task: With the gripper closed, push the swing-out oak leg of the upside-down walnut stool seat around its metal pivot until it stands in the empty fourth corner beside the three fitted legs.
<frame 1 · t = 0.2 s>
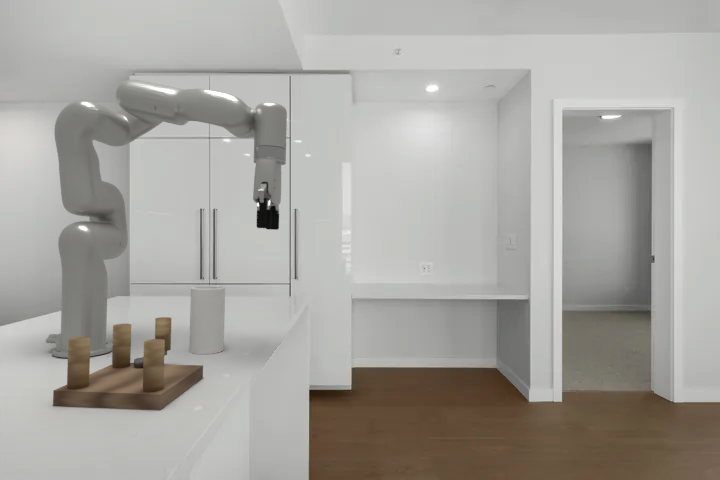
hand: (268, 228, 110), 31 cm above the counter, fingers open, 9 cm apart
stool seat: (135, 390, 84), on the counter
hinged leg: (153, 340, 96), point 7 cm above the counter, hinge at 0.0°
cup: (206, 351, 116), on the counter
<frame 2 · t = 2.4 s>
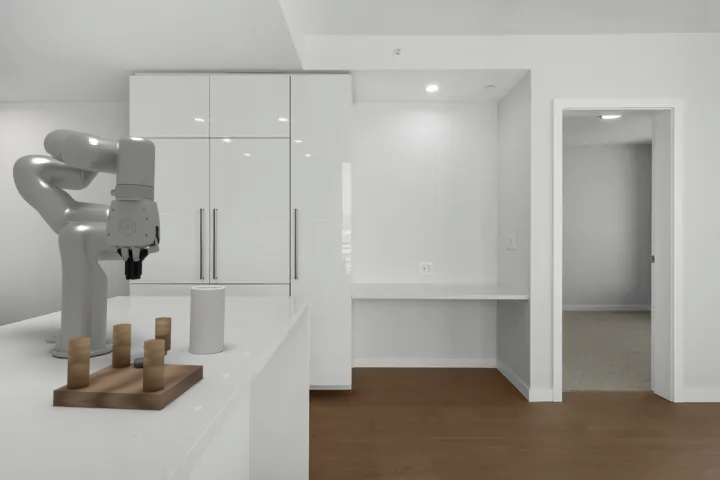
hand: (133, 279, 100), 19 cm above the counter, fingers closed
nothing on the counter moved.
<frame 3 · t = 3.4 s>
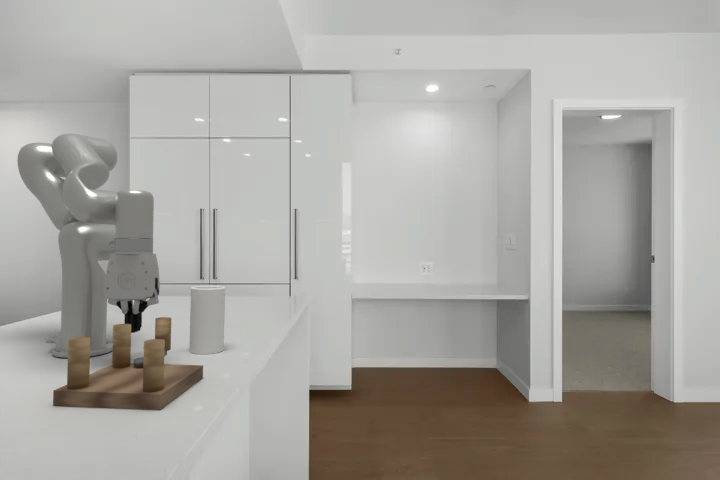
hand: (133, 331, 100), 8 cm above the counter, fingers closed
nothing on the counter moved.
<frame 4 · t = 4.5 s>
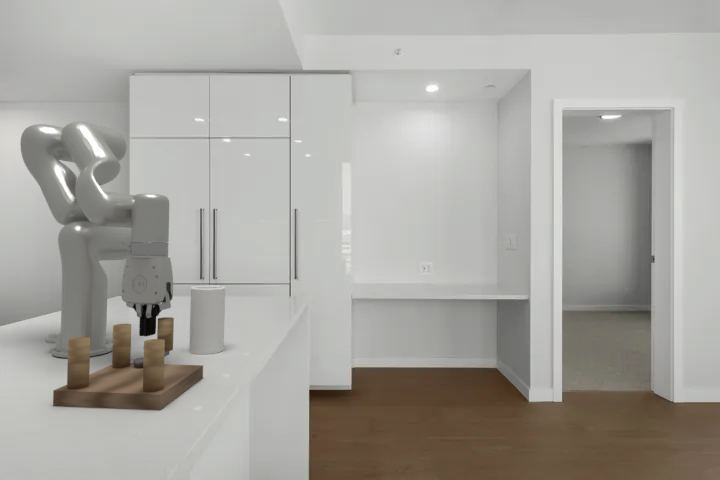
hand: (147, 334, 100), 7 cm above the counter, fingers closed
hinged leg: (154, 340, 96), point 7 cm above the counter, hinge at 3.4°, touching gripper
everything else where it was.
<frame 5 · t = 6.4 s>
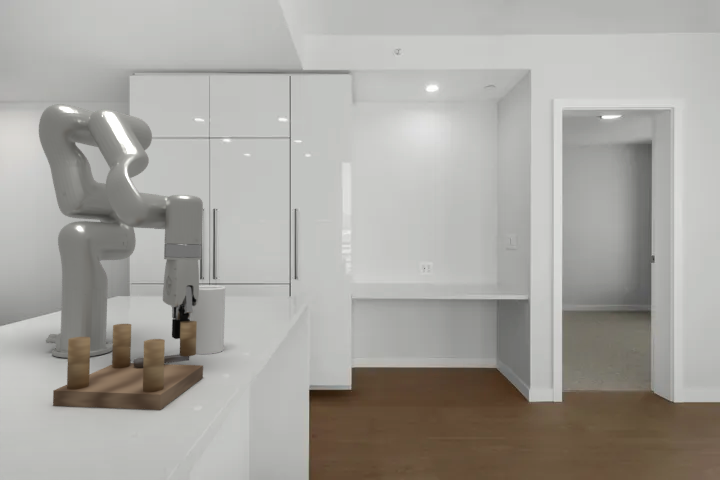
hand: (180, 337, 99), 7 cm above the counter, fingers closed
hinged leg: (166, 342, 94), point 7 cm above the counter, hinge at 50.4°, touching gripper
everything else where it was.
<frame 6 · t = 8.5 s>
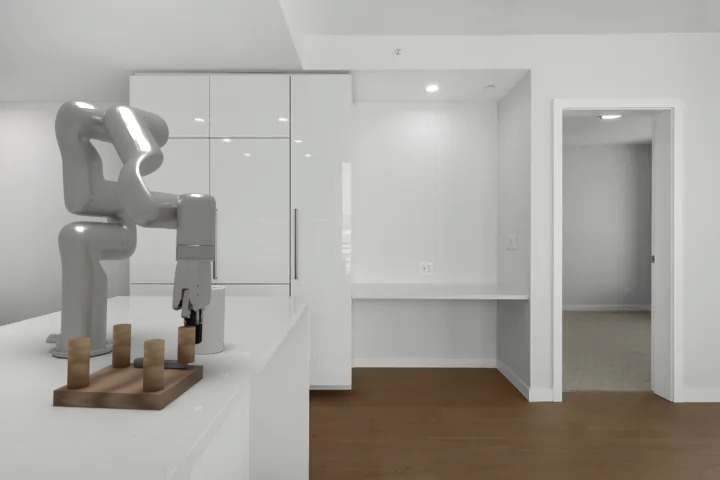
hand: (192, 342, 95), 7 cm above the counter, fingers closed
hinged leg: (164, 346, 91), point 7 cm above the counter, hinge at 89.8°, touching gripper
everything else where it was.
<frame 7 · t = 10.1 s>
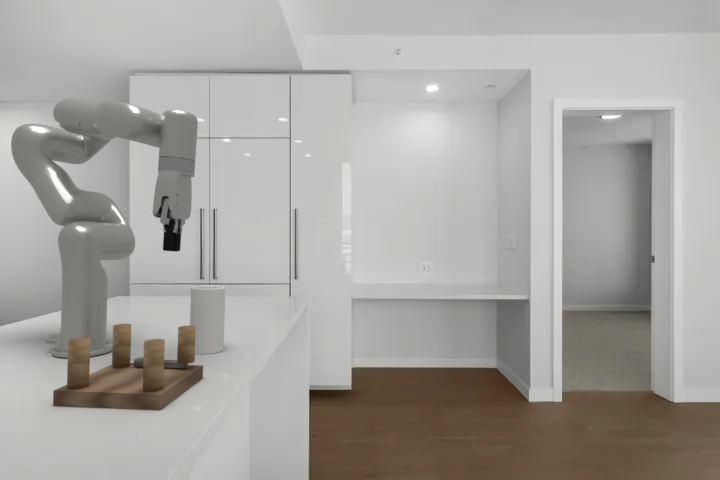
hand: (171, 250, 102), 25 cm above the counter, fingers closed
hinged leg: (164, 346, 91), point 7 cm above the counter, hinge at 89.8°
everything else where it was.
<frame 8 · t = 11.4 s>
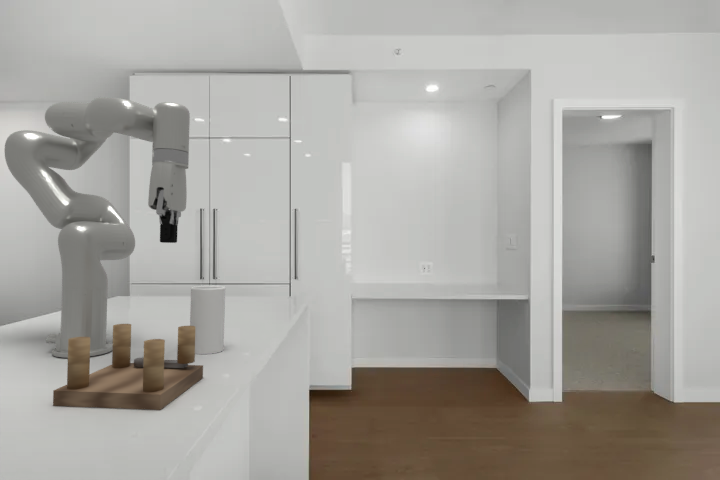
hand: (168, 242, 103), 27 cm above the counter, fingers closed
nothing on the counter moved.
at the end: hinged leg at +90° (first picture: +0°); cup moved 0.2 cm from its start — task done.
